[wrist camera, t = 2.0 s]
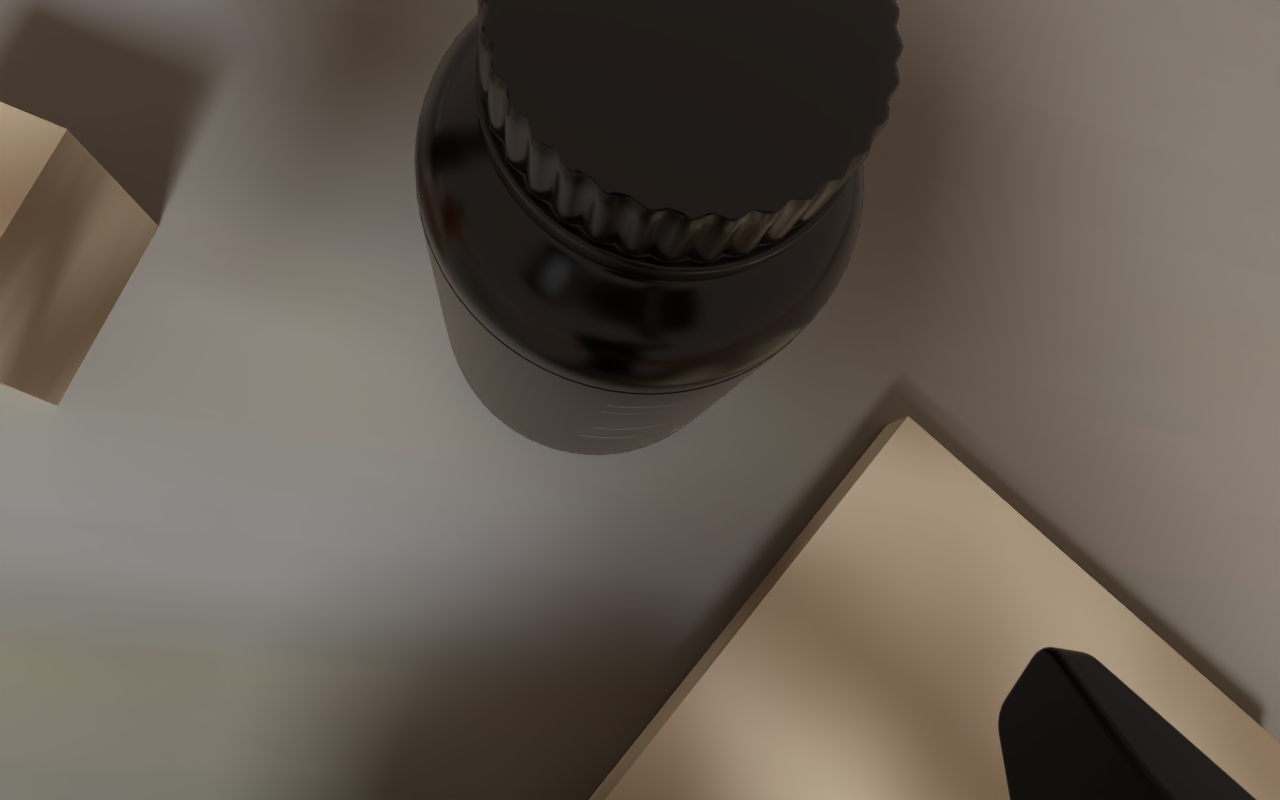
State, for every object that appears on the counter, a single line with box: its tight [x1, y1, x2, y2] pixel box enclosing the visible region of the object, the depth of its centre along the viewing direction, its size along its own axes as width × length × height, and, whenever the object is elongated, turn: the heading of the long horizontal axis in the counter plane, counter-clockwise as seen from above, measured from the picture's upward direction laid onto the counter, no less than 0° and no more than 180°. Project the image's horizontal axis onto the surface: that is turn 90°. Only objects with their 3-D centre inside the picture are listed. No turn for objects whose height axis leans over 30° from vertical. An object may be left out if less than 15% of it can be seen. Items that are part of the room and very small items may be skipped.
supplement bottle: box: [415, 0, 903, 455], centre depth 15 cm, size 7×7×12 cm
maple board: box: [589, 416, 1280, 800], centre depth 20 cm, size 12×12×1 cm
